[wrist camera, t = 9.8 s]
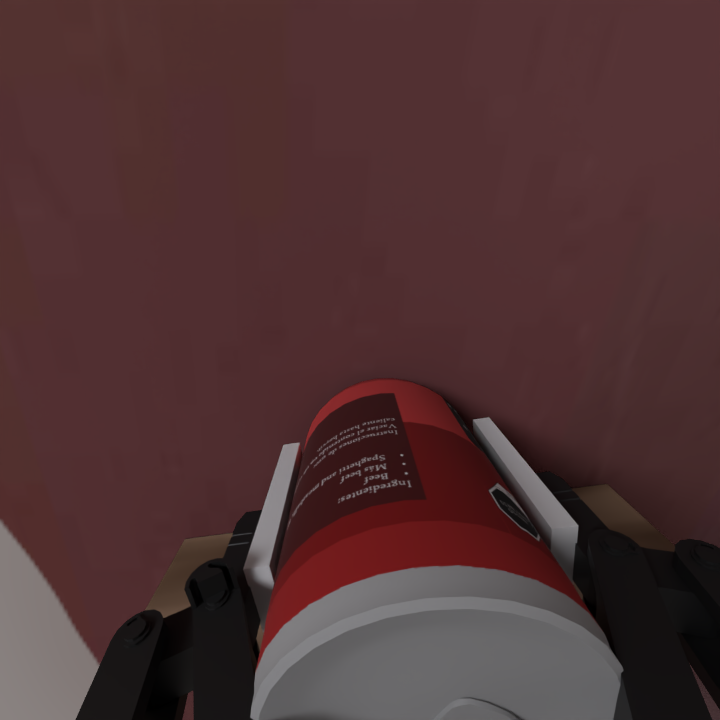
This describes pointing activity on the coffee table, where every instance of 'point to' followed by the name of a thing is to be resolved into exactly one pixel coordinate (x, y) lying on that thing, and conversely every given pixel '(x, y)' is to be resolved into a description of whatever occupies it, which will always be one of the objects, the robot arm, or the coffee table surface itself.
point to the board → (175, 599)
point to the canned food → (420, 581)
